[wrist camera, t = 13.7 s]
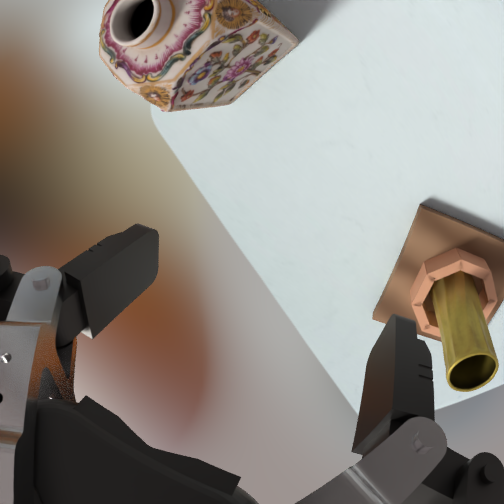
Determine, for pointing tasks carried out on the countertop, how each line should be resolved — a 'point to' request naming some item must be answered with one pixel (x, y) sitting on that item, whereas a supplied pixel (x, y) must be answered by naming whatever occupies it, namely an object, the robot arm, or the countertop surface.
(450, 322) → the vase
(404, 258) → the board
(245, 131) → the countertop surface
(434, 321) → the holder ring
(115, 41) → the decorative jar
